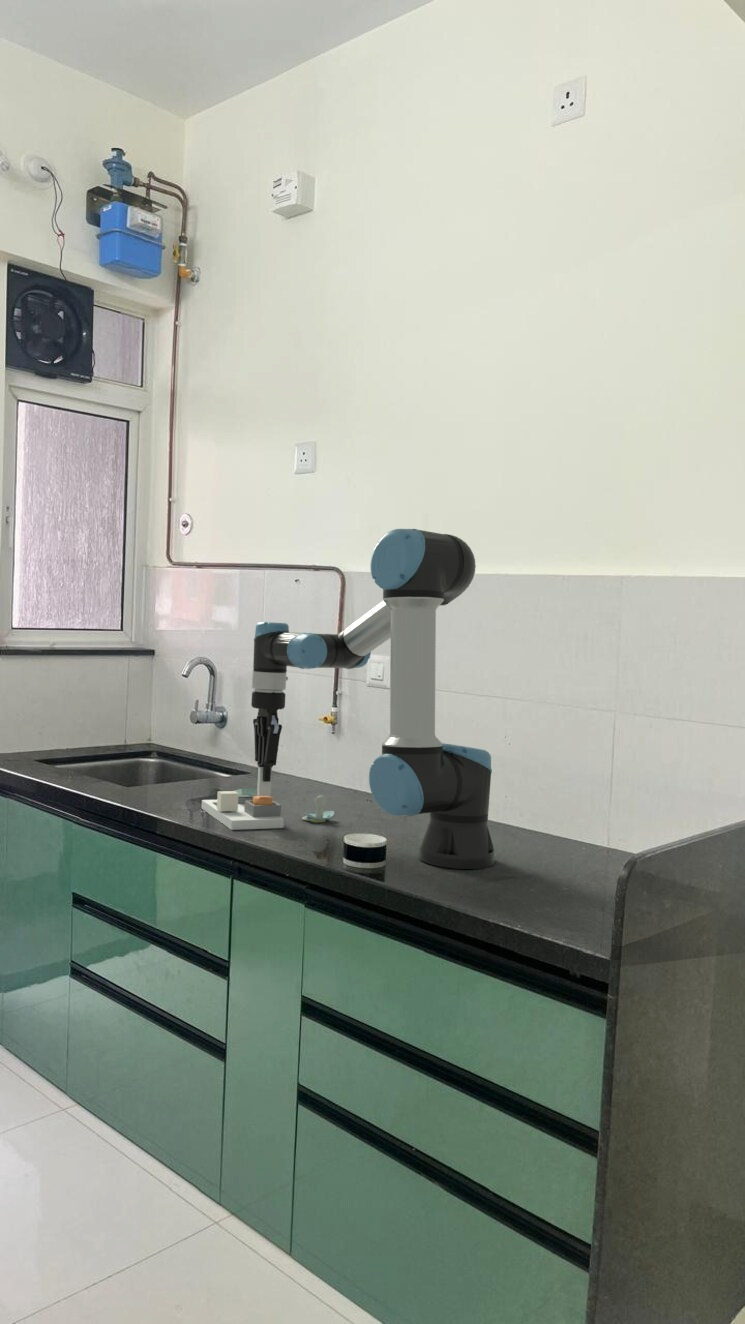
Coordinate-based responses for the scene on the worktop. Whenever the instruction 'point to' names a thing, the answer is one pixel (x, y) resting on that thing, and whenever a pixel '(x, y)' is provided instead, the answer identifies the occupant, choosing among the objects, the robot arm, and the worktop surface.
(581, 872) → the worktop surface
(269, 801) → the plunger button
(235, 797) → the off-white square block
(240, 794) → the rocker
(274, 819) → the panel
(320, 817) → the pacifier
